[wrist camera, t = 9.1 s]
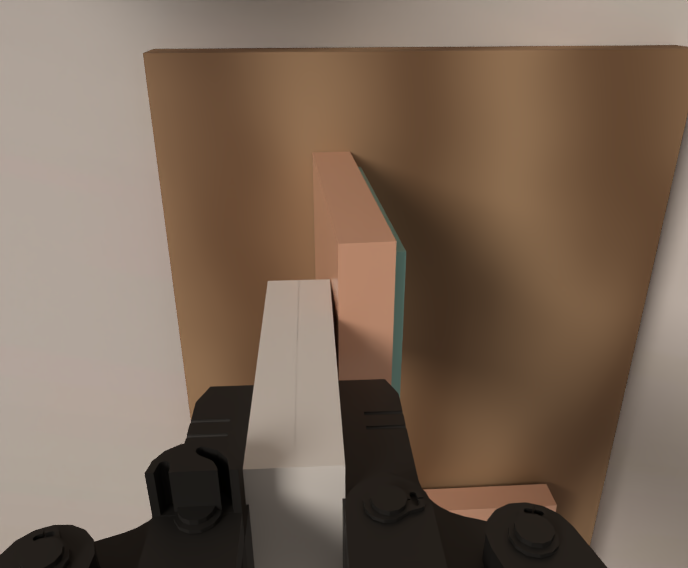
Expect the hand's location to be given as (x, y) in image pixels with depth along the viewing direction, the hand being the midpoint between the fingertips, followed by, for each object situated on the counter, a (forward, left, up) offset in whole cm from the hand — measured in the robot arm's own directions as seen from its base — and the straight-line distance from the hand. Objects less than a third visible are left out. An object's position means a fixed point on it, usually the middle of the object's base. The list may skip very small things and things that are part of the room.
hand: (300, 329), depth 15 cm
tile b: (+1, 0, -6) cm, 6 cm away
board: (+4, -7, -8) cm, 11 cm away
